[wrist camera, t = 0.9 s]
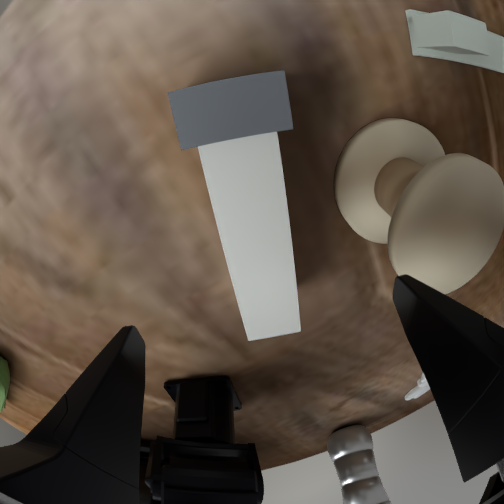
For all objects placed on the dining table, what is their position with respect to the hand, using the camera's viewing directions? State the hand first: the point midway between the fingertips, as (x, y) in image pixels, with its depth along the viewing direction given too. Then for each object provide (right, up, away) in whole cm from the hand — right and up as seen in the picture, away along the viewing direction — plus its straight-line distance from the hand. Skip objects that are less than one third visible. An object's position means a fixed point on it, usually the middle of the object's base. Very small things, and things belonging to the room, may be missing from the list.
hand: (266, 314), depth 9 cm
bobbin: (+8, +6, +7) cm, 13 cm away
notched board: (+15, +16, +2) cm, 22 cm away
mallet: (-1, +5, +8) cm, 9 cm away
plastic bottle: (+13, -24, +27) cm, 39 cm away
